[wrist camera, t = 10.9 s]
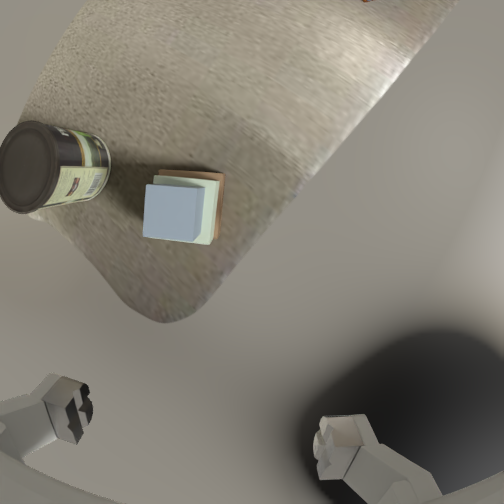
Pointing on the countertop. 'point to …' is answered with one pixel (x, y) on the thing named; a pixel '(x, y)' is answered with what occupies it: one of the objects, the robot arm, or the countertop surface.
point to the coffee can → (51, 167)
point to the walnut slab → (206, 176)
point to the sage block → (208, 206)
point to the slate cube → (173, 211)
